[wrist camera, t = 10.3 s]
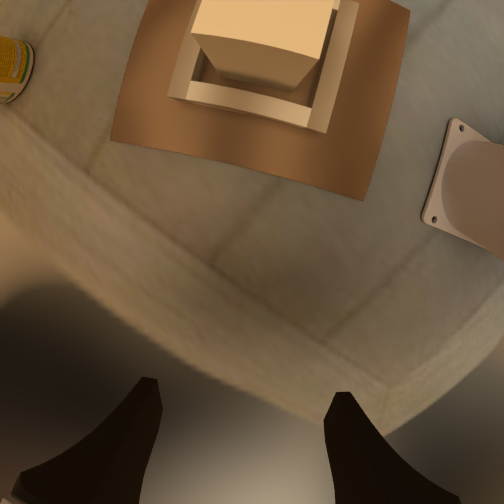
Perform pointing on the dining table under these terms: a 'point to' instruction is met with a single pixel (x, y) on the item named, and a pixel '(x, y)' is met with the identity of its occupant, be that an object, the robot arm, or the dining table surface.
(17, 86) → the supplement bottle
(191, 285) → the dining table surface
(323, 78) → the socket board
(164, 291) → the dining table surface
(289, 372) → the dining table surface
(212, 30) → the peg
